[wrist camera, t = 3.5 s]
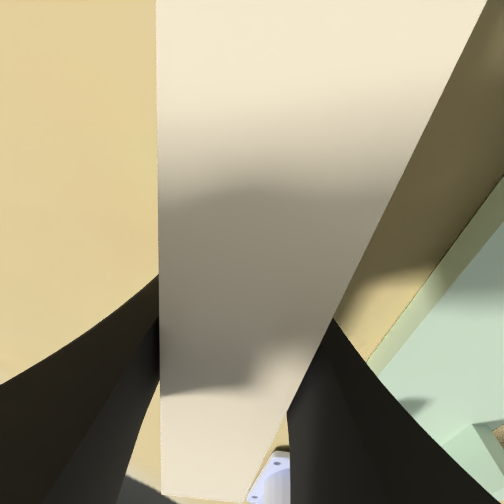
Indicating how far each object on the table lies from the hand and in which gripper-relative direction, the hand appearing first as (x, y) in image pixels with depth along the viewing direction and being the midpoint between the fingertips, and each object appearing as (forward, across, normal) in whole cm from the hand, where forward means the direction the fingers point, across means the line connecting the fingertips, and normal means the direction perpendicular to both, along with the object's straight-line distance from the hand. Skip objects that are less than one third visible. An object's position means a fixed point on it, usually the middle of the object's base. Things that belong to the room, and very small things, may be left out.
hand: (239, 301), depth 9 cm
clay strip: (+2, 0, 0) cm, 2 cm away
